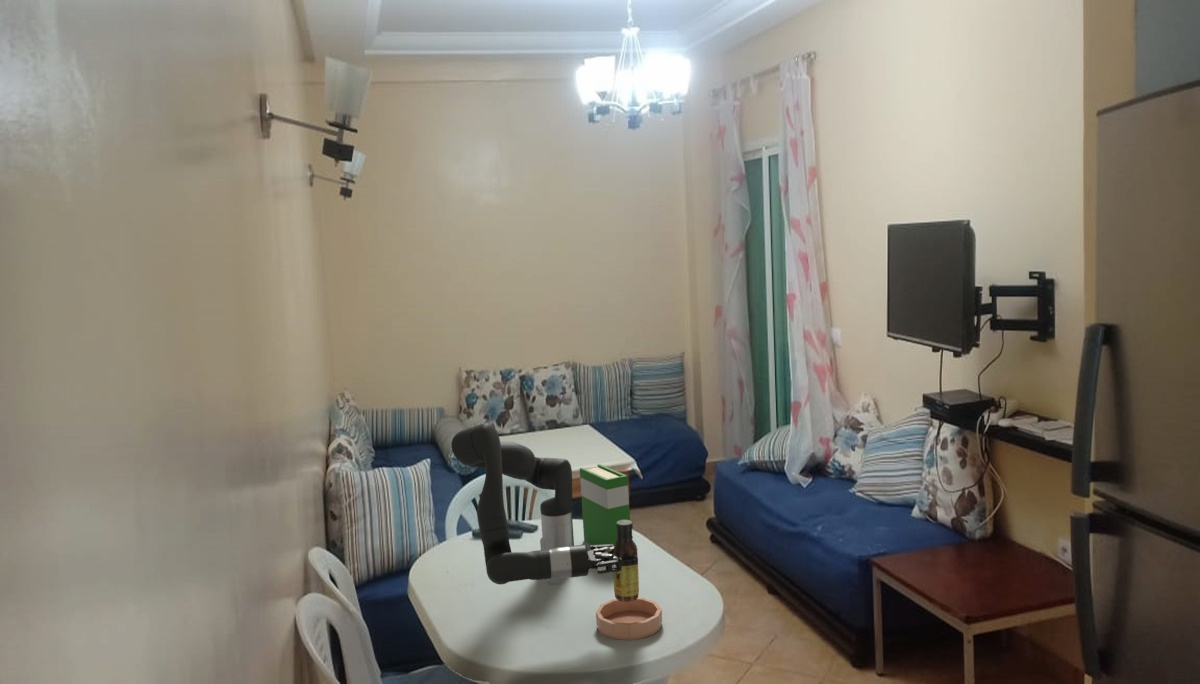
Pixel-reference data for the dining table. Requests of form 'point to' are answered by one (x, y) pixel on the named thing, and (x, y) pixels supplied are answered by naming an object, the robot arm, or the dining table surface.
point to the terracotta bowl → (629, 619)
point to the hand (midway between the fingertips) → (634, 555)
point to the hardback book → (603, 503)
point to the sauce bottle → (628, 576)
